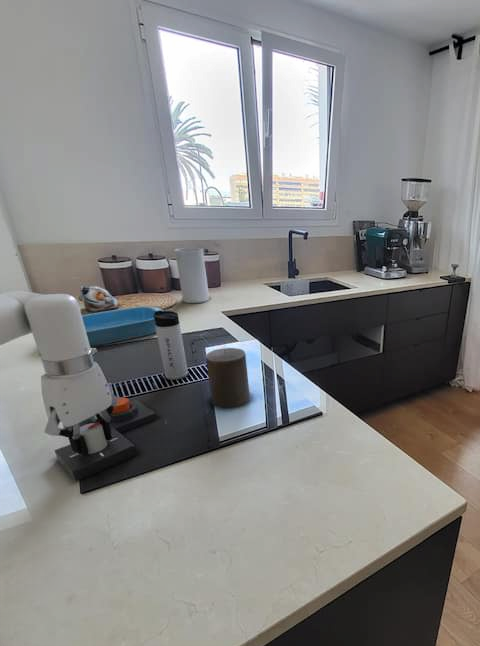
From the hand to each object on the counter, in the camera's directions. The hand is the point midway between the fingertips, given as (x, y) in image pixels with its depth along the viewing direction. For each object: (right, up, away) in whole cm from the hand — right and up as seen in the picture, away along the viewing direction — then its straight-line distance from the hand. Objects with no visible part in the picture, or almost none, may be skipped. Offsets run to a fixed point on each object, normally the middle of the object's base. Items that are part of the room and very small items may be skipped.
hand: (93, 444), depth 79 cm
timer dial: (0, -1, 0) cm, 1 cm away
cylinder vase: (-30, +50, +120) cm, 134 cm away
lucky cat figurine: (-64, +42, +101) cm, 127 cm away
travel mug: (-1, +13, +38) cm, 40 cm away
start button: (-3, +6, +13) cm, 15 cm away
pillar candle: (+20, +6, +25) cm, 33 cm away
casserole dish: (-40, +28, +70) cm, 85 cm away
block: (-3, +2, +15) cm, 15 cm away
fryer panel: (0, -3, +2) cm, 4 cm away
